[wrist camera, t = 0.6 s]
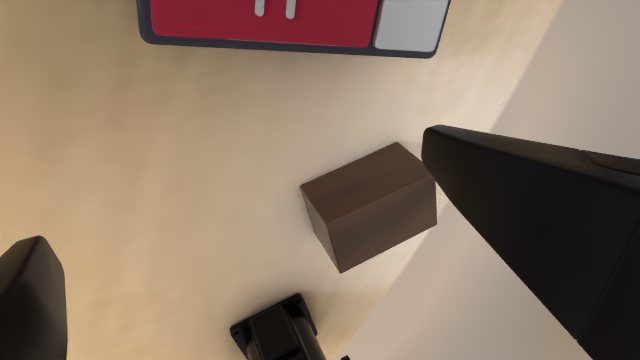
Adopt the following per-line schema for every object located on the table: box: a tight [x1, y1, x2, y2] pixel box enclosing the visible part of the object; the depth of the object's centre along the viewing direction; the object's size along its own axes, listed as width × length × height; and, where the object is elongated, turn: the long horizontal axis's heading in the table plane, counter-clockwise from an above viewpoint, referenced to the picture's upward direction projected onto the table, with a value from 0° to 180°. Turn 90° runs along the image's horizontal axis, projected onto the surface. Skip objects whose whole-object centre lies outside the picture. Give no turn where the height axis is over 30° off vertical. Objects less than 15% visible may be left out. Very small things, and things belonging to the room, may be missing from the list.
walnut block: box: [300, 142, 437, 274], centre depth 28 cm, size 5×8×4 cm, turn 103°
